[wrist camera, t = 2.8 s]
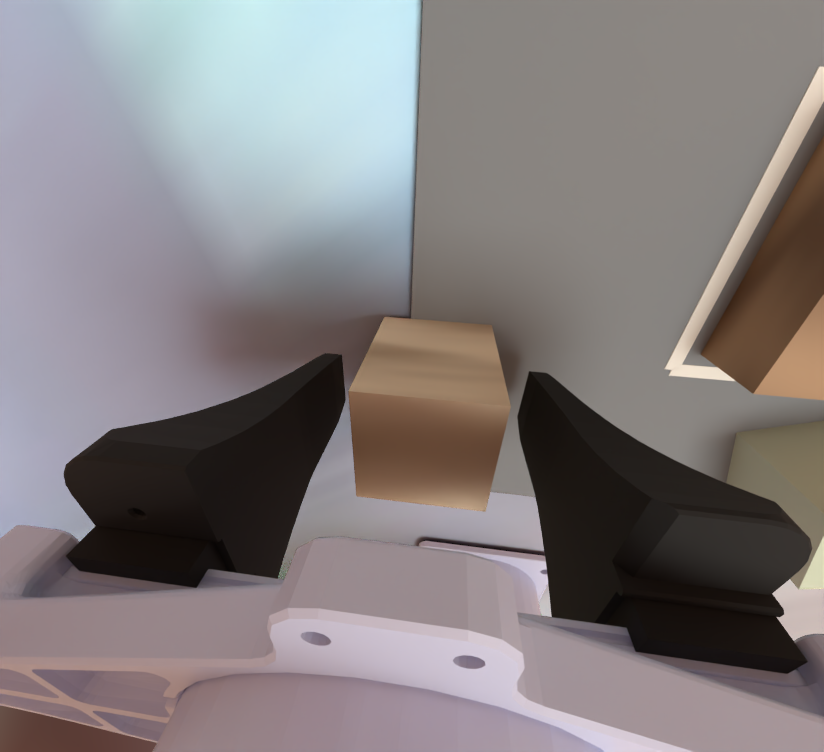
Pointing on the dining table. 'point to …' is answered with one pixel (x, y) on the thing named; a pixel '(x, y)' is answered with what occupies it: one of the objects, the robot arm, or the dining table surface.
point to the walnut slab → (781, 302)
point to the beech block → (429, 414)
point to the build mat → (612, 198)
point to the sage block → (787, 482)
